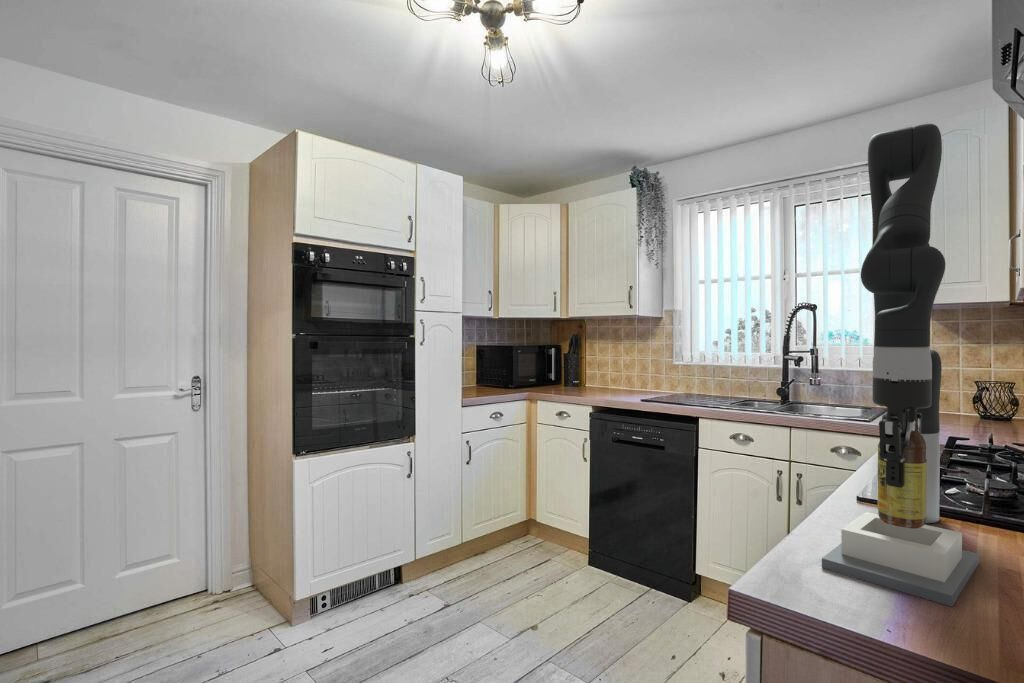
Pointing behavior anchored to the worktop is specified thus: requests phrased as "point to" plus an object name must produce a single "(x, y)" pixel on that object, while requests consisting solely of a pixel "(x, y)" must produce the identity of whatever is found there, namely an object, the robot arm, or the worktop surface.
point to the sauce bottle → (905, 485)
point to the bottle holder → (904, 558)
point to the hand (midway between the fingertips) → (901, 481)
